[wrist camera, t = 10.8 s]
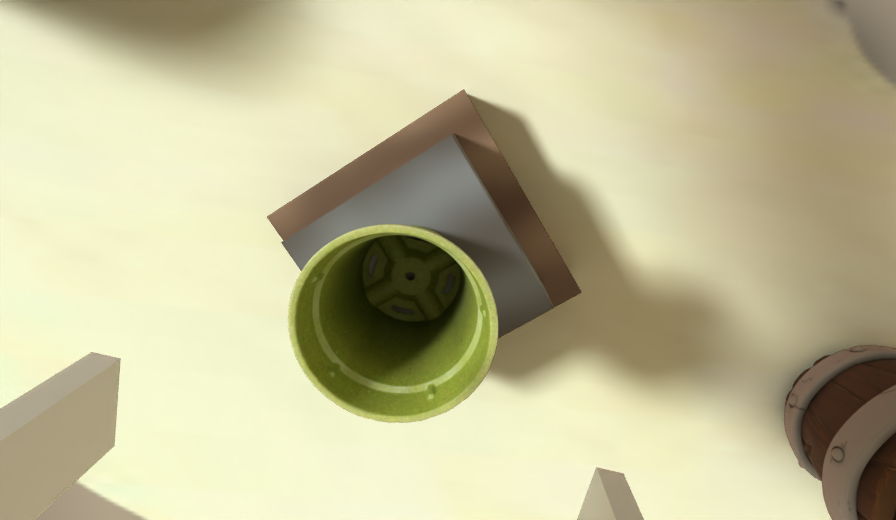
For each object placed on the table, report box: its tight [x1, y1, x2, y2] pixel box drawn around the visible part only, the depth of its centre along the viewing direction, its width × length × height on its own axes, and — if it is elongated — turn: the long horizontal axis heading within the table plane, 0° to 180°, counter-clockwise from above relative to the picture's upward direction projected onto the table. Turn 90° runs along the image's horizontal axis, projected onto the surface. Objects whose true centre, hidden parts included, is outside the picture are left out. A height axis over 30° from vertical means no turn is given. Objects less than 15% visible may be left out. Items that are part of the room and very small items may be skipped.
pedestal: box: [267, 90, 581, 338], centre depth 35 cm, size 16×16×9 cm
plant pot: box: [288, 224, 498, 423], centre depth 27 cm, size 9×9×9 cm
